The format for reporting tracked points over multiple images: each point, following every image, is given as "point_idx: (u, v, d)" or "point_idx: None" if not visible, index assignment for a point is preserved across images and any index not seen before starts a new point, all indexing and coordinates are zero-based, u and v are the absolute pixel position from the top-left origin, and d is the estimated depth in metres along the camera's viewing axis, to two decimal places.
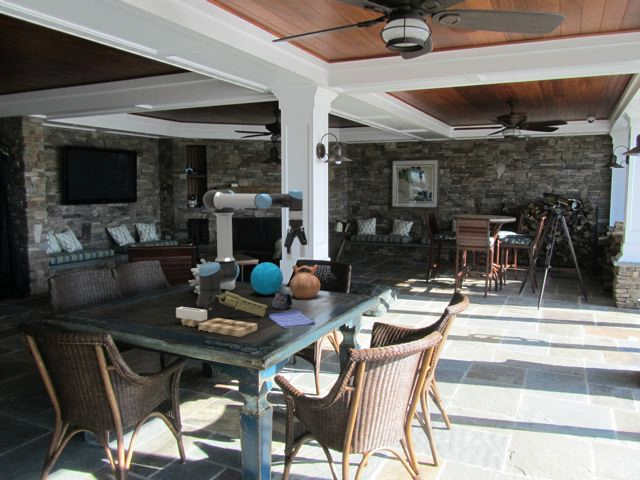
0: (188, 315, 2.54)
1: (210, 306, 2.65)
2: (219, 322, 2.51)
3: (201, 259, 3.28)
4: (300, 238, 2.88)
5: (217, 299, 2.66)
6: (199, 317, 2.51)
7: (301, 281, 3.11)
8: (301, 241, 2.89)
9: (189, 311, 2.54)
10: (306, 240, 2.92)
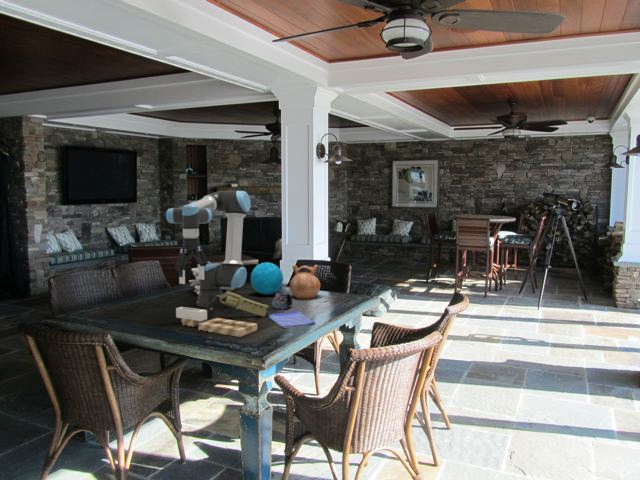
0: (188, 315, 2.54)
1: (212, 306, 2.65)
2: (219, 322, 2.51)
3: None
4: (198, 259, 2.57)
5: (218, 299, 2.66)
6: (199, 317, 2.51)
7: (301, 281, 3.11)
8: (199, 262, 2.59)
9: (189, 311, 2.54)
10: (206, 261, 2.61)
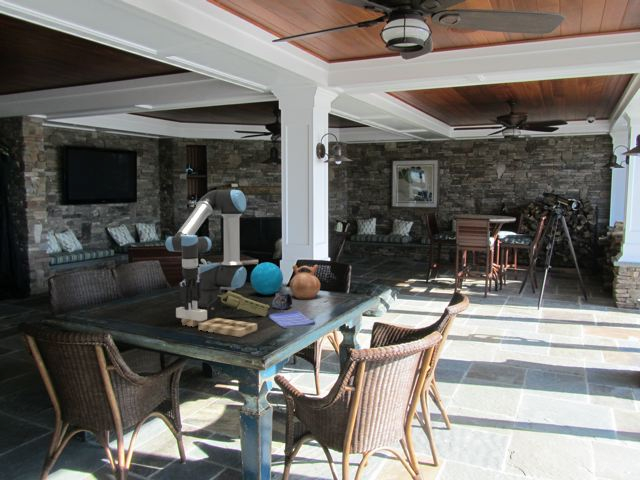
0: None
1: (213, 306, 2.65)
2: (219, 322, 2.51)
3: (201, 259, 3.28)
4: (193, 290, 2.56)
5: (219, 299, 2.66)
6: (199, 317, 2.51)
7: (301, 281, 3.11)
8: (194, 295, 2.57)
9: None
10: (200, 295, 2.59)
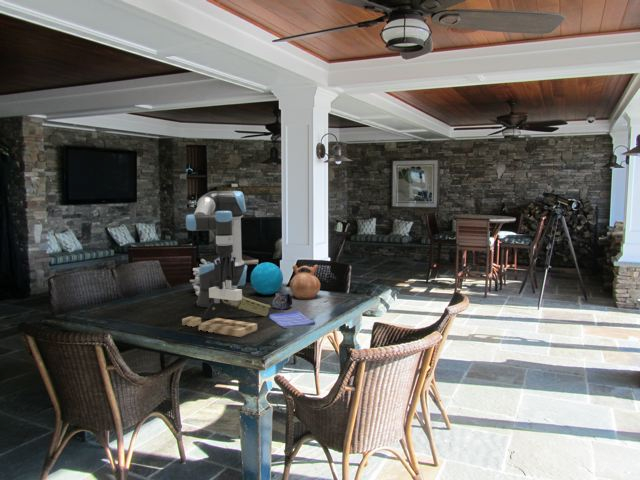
0: None
1: (214, 305, 2.65)
2: (219, 322, 2.51)
3: (201, 259, 3.28)
4: (227, 269, 2.45)
5: (220, 299, 2.66)
6: (234, 296, 2.39)
7: (301, 281, 3.11)
8: (228, 274, 2.46)
9: None
10: (234, 274, 2.48)
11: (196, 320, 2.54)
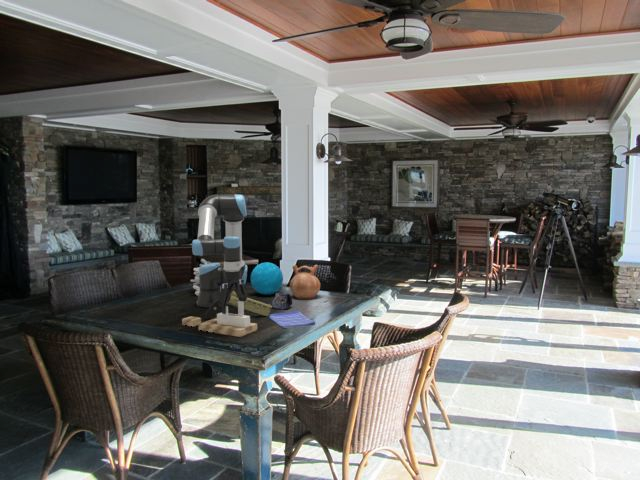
0: (230, 322, 2.42)
1: (215, 305, 2.66)
2: None
3: (201, 259, 3.28)
4: (238, 293, 2.46)
5: None
6: (243, 323, 2.39)
7: (301, 281, 3.11)
8: (239, 296, 2.47)
9: (231, 317, 2.42)
10: (245, 295, 2.49)
11: (196, 320, 2.54)
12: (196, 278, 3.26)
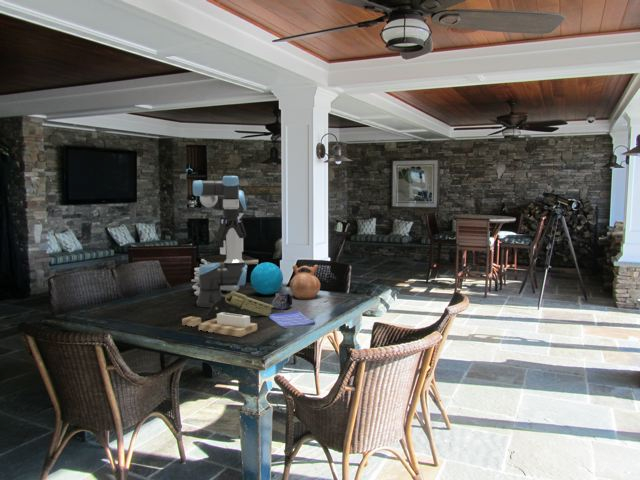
0: (230, 322, 2.42)
1: (217, 305, 2.66)
2: None
3: (201, 259, 3.29)
4: (237, 230, 2.57)
5: (223, 299, 2.66)
6: (243, 323, 2.39)
7: (301, 281, 3.11)
8: (239, 234, 2.58)
9: (231, 317, 2.42)
10: (245, 232, 2.61)
11: (196, 320, 2.54)
12: (196, 278, 3.26)
